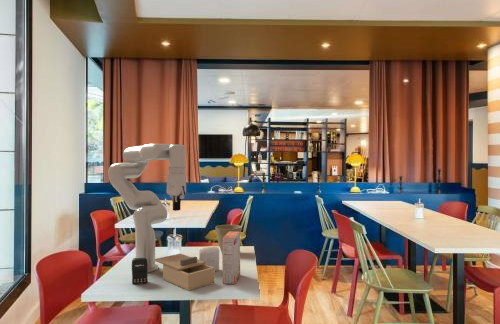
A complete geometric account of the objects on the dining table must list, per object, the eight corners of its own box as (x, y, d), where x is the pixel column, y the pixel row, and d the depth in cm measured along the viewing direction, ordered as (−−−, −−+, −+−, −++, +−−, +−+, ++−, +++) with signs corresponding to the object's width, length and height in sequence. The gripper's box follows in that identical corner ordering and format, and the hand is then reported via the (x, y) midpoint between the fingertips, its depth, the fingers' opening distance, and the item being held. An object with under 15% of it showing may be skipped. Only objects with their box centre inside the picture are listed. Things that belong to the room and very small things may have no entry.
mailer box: (163, 279, 169) (163, 264, 169) (188, 273, 179) (188, 258, 178) (188, 291, 154) (188, 274, 154) (214, 283, 164) (214, 267, 164)
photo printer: (216, 268, 186) (216, 244, 186) (220, 270, 182) (220, 245, 182) (197, 272, 180) (197, 246, 180) (201, 274, 177) (201, 248, 177)
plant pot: (240, 250, 222) (240, 224, 221) (241, 257, 207) (241, 229, 207) (215, 251, 221) (215, 224, 220) (215, 257, 206) (215, 229, 206)
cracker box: (228, 274, 177) (228, 230, 177) (240, 274, 176) (240, 231, 176) (221, 284, 163) (221, 237, 163) (234, 284, 162) (234, 237, 162)
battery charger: (131, 285, 161) (131, 259, 161) (132, 282, 165) (131, 257, 165) (147, 284, 163) (147, 258, 163) (148, 281, 167) (148, 256, 166)
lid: (154, 260, 174) (154, 254, 174) (180, 255, 184) (180, 248, 184) (178, 270, 159) (178, 263, 159) (205, 263, 169) (205, 256, 169)
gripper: (161, 170, 173) (161, 209, 174) (179, 171, 163) (178, 213, 163) (175, 170, 179) (174, 207, 179) (193, 171, 168) (192, 211, 168)
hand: (176, 210), depth 171 cm, fingers closed
